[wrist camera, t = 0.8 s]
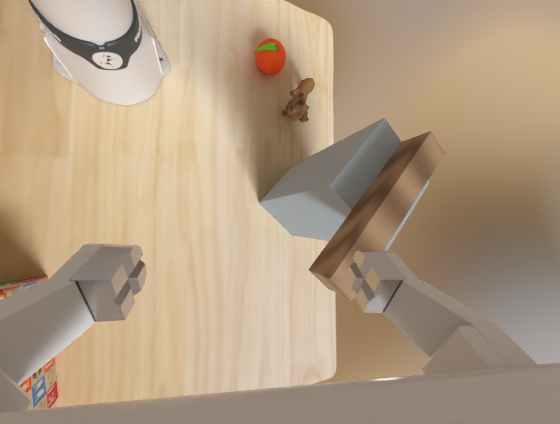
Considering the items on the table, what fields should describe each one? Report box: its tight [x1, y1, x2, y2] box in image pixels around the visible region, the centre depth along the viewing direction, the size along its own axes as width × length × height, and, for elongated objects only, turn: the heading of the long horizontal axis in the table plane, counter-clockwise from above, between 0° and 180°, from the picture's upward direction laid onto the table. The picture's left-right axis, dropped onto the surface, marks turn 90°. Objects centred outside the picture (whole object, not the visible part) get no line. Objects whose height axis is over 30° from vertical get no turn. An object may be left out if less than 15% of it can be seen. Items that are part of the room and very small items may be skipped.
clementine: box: [254, 39, 286, 75], centre depth 50 cm, size 8×7×7 cm
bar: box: [309, 131, 445, 300], centre depth 25 cm, size 22×4×4 cm, turn 136°
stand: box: [259, 118, 429, 251], centre depth 42 cm, size 13×12×29 cm
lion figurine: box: [282, 78, 315, 122], centre depth 52 cm, size 15×5×9 cm, turn 161°
